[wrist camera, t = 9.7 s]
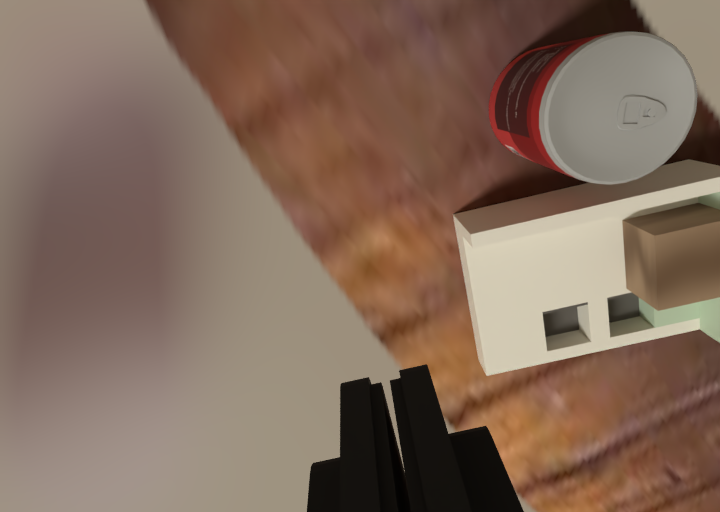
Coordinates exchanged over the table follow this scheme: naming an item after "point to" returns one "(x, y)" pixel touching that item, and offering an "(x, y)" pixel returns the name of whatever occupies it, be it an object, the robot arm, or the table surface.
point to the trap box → (572, 269)
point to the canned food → (596, 106)
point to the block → (673, 256)
